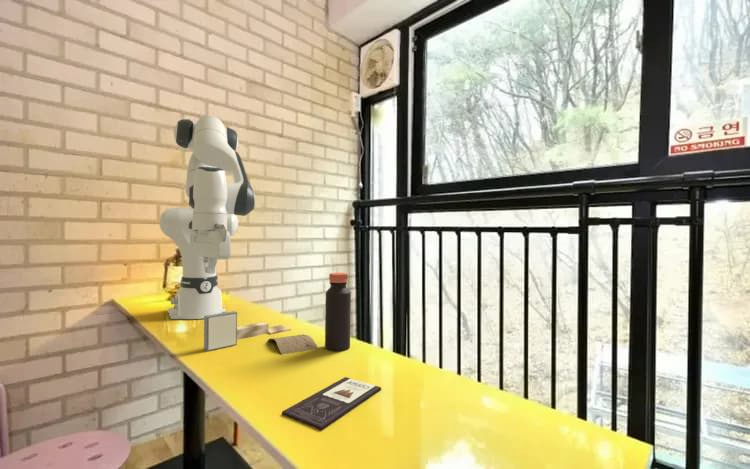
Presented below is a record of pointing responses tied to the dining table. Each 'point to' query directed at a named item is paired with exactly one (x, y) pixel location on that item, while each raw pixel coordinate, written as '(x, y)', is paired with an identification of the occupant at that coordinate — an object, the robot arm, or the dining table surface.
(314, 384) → the dining table surface
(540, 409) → the dining table surface
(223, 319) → the grey framed square panel
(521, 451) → the dining table surface
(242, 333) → the stepped wooden block
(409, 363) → the dining table surface
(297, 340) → the curved brown bark piece
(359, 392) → the chocolate bar
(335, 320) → the bottle
